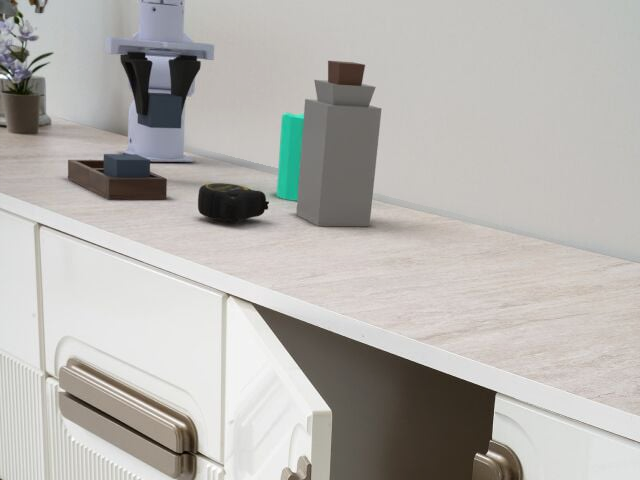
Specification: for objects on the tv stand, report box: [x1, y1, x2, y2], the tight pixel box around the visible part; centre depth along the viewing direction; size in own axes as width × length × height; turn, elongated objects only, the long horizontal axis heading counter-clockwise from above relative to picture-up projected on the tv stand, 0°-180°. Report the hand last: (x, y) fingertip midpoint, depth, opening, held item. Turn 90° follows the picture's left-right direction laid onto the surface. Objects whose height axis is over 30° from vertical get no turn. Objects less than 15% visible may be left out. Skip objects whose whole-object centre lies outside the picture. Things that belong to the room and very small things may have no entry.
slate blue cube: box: [138, 92, 182, 128], centre depth 149 cm, size 4×4×4 cm
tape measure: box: [197, 182, 270, 224], centre depth 130 cm, size 7×7×4 cm
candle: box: [276, 112, 304, 202], centre depth 147 cm, size 6×6×12 cm
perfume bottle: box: [295, 60, 382, 227], centre depth 133 cm, size 7×7×18 cm
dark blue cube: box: [103, 153, 151, 178], centre depth 140 cm, size 4×4×4 cm
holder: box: [67, 159, 168, 201], centre depth 143 cm, size 14×8×2 cm, turn 31°
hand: (158, 114), depth 149 cm, fingers closed on slate blue cube, 4 cm apart
